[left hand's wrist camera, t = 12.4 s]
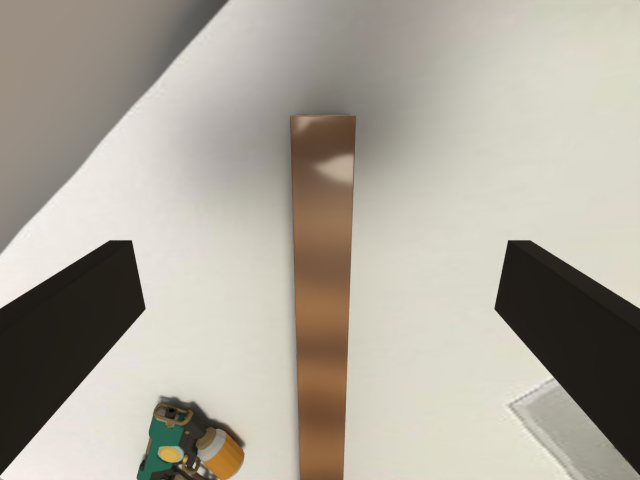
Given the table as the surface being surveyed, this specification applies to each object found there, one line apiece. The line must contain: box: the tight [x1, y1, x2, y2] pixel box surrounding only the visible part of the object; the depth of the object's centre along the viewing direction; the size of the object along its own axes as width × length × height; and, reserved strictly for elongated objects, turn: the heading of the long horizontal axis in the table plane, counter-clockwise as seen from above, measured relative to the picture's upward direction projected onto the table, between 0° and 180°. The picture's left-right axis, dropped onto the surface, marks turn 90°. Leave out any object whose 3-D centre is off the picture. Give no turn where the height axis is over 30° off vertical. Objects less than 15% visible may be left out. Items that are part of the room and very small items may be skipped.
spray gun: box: [137, 403, 244, 480], centre depth 47 cm, size 4×17×15 cm
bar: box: [290, 114, 356, 480], centre depth 44 cm, size 80×5×7 cm, turn 0°
